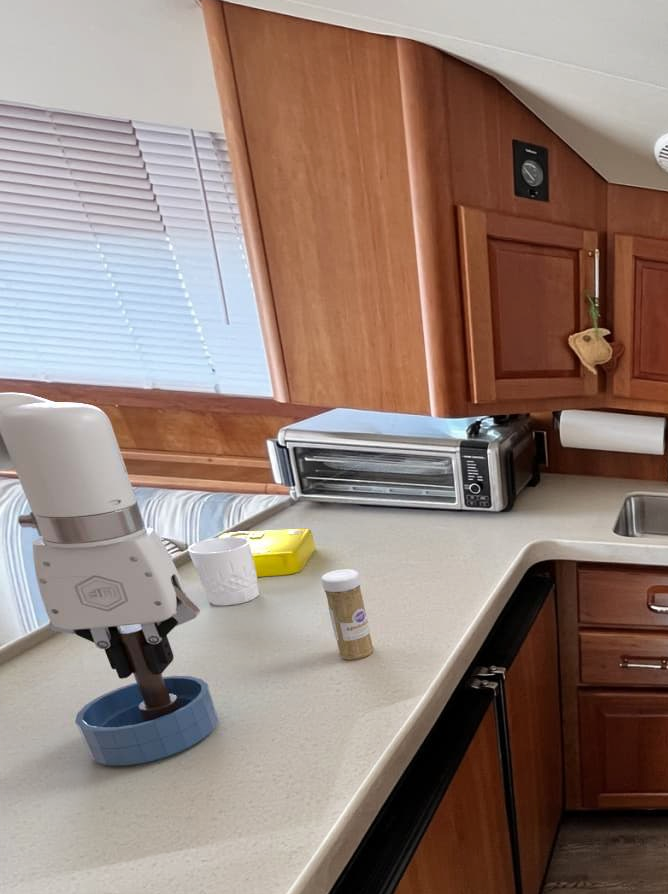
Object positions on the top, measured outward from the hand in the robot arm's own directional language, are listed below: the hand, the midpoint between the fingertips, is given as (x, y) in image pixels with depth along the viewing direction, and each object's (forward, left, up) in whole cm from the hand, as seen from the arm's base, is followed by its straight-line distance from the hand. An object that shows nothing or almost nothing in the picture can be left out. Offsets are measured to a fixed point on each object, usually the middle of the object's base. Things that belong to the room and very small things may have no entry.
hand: (146, 669), depth 74 cm
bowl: (-1, 0, -10) cm, 10 cm away
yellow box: (-5, +58, -10) cm, 59 cm away
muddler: (0, 0, -8) cm, 8 cm away
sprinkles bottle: (+17, +16, -10) cm, 25 cm away
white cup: (-5, +42, -10) cm, 43 cm away
